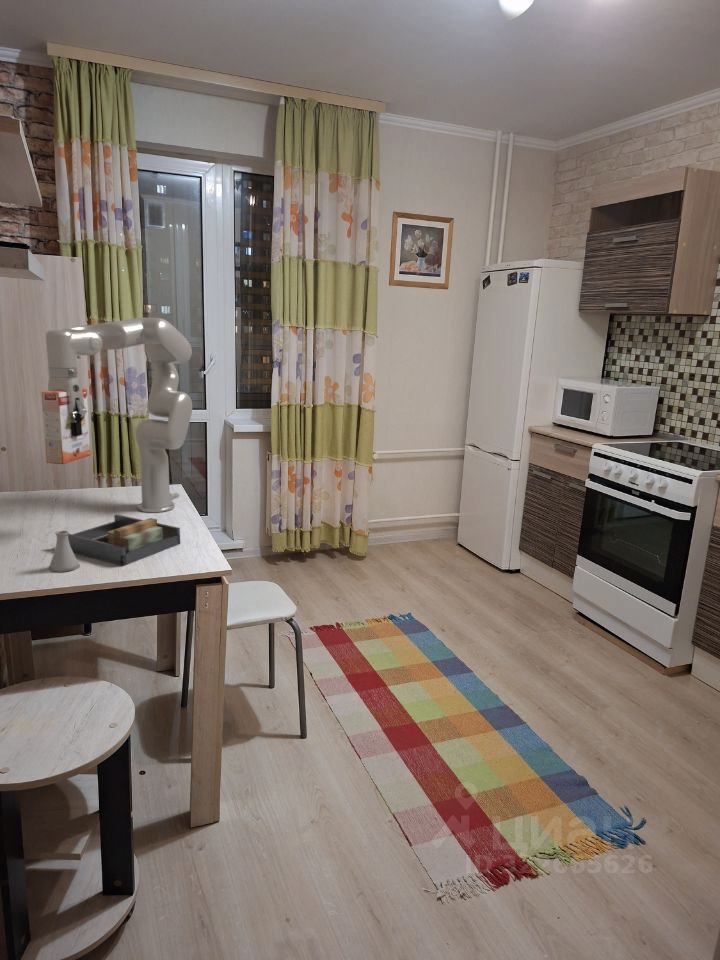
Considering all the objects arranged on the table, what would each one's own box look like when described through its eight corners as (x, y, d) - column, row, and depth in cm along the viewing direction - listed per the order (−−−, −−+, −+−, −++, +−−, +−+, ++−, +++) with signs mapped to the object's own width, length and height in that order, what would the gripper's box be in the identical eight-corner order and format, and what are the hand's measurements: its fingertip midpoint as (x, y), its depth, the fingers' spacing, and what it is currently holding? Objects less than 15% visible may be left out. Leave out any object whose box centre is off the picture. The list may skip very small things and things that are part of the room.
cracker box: (64, 465, 188) (58, 392, 183) (45, 463, 189) (39, 391, 184) (92, 455, 201) (87, 387, 197) (74, 454, 202) (69, 386, 198)
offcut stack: (145, 542, 197) (144, 516, 195) (164, 546, 193) (163, 520, 192) (108, 555, 185) (107, 528, 183) (128, 560, 181) (126, 532, 180)
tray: (117, 529, 207) (116, 514, 206) (180, 543, 196) (179, 527, 195) (57, 548, 188) (56, 532, 187) (123, 565, 177) (122, 548, 176)
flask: (60, 574, 169) (58, 538, 167) (43, 568, 173) (40, 532, 171) (85, 566, 175) (82, 531, 173) (68, 561, 179) (65, 526, 177)
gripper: (95, 374, 189) (99, 435, 193) (53, 371, 196) (57, 430, 200) (73, 376, 182) (78, 439, 187) (31, 372, 190) (36, 433, 194)
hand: (67, 433), depth 193 cm, fingers closed on cracker box, 7 cm apart
